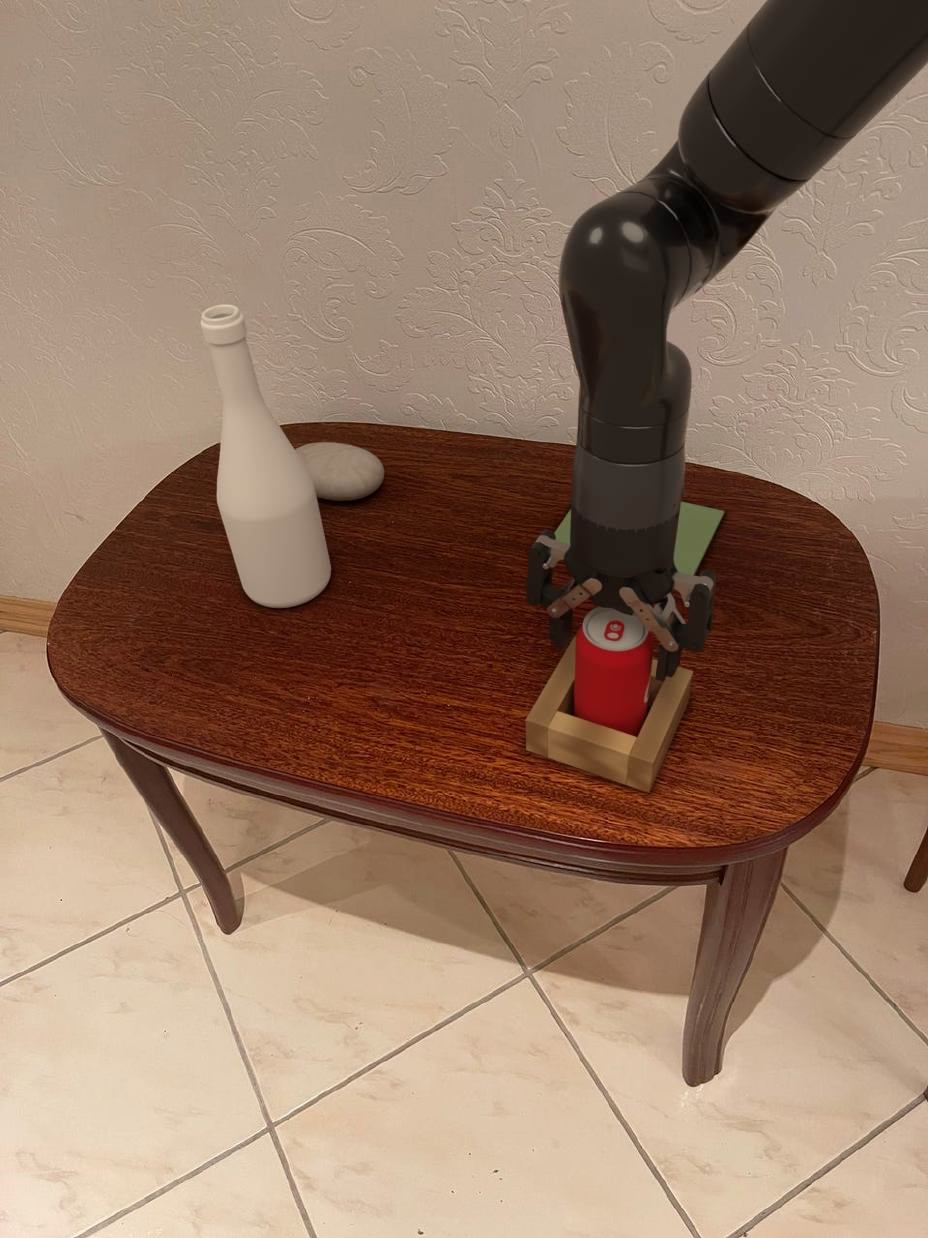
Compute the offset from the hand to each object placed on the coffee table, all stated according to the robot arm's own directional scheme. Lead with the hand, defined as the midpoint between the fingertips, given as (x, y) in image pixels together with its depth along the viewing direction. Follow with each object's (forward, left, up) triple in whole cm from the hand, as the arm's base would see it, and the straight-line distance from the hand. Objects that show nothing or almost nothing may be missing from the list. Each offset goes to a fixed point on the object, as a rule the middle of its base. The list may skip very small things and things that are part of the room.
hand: (612, 658), depth 72 cm
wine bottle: (+38, -5, -9) cm, 39 cm away
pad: (+7, -28, -8) cm, 30 cm away
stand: (0, 0, -8) cm, 8 cm away
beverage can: (0, 0, -9) cm, 9 cm away
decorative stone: (+43, -22, -9) cm, 49 cm away
